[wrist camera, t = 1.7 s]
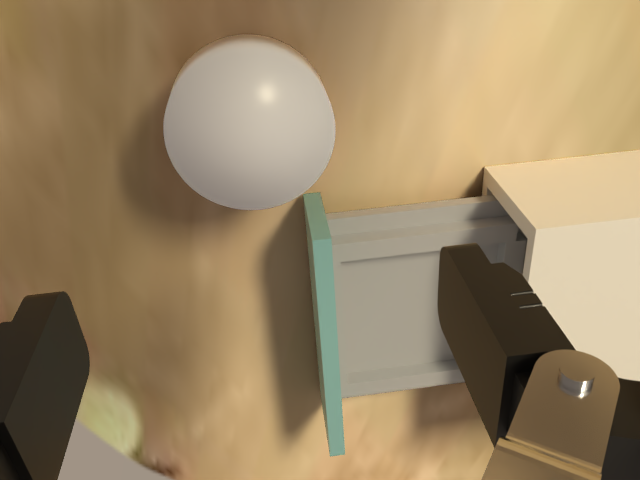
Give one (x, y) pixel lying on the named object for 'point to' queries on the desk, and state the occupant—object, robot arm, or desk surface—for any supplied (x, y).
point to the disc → (249, 123)
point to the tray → (391, 293)
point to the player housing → (581, 247)
